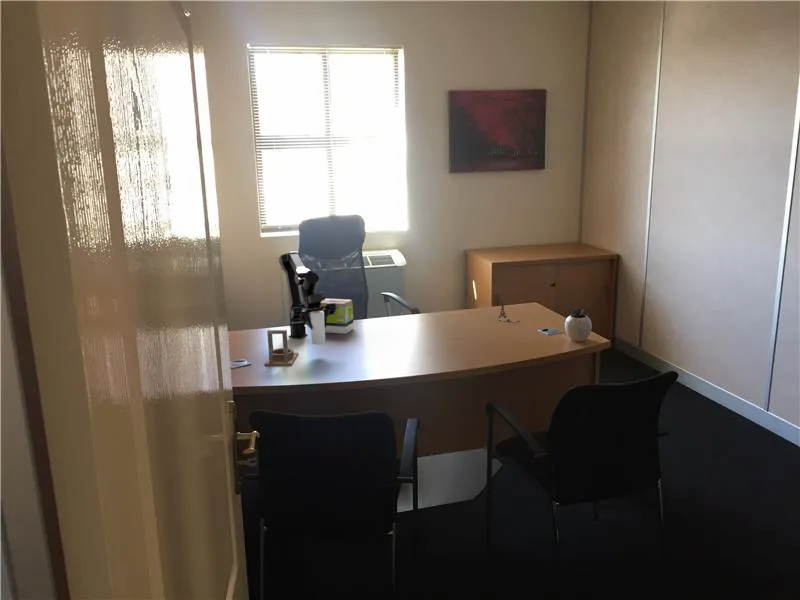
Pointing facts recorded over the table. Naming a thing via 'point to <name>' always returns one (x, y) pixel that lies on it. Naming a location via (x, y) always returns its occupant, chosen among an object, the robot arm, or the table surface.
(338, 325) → the tea box
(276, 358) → the stand
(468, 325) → the table surface
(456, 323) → the table surface
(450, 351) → the table surface
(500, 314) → the eiffel tower figurine
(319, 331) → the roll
